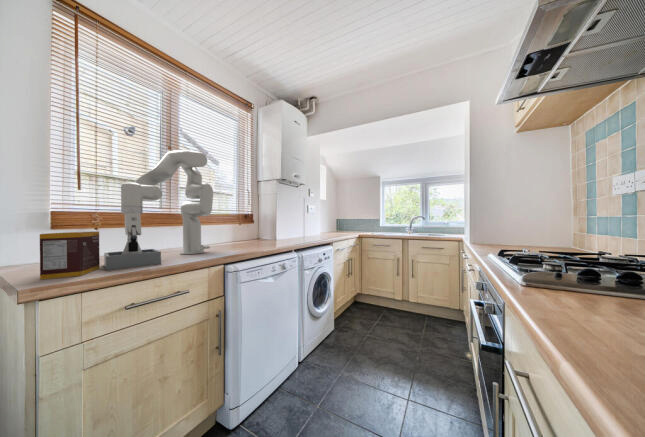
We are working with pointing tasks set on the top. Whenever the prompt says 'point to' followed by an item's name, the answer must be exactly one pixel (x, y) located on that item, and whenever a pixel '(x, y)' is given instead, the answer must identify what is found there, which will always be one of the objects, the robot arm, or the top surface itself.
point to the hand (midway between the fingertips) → (132, 250)
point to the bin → (131, 259)
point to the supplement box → (68, 254)
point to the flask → (126, 250)
